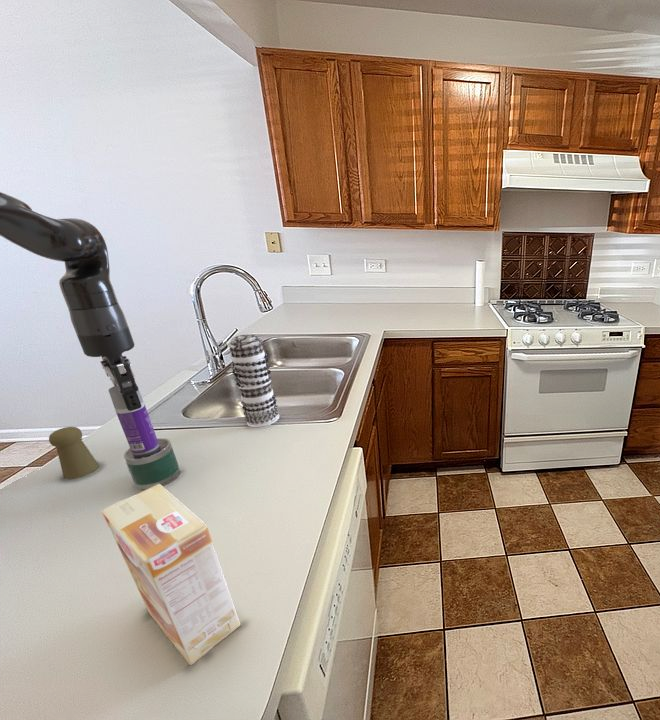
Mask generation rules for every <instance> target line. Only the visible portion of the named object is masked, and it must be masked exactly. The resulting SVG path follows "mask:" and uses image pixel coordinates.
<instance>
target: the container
mask: <svg viewBox="0 0 660 720" xmlns="http://www.w3.org/2000/svg"><path fill="white" fill-rule="evenodd" d="M136 385H137V386H138V384H137V383H136ZM122 386H123V388H125V387H129V386H131V384H130V382H128V383H124V384H122ZM136 392H137V394H138V397H139V400H140V403H141V408H139V409H136V410H132V411H129V410H128V409H127V407H126V405H125V402H124V399H123V397H122V395H121V393H119V389H118V386H114V385H113V386H111V387H110V388H108V393H109V397H110V399H111V402H112V405H113V408H114V411H115V414H116V417H117V418H118V421H119V424H120V427H121V428H122V431H123V433H124V436H125V438H126V441H127V443H128V446H129V448H130V449H131V451H132V454H134V455H143V454H147V453H150V452H152V451H154V450H156V449H157V448H158V447H159V443H158V440H157V439H158V436H157V435H156V431H155V429H154V426H153V424H152V421H151V418H150V415H149V412H148V409H147V406H146V404H145V402H144V399H143V397H142V394H141V391H140V389H138V391H136Z"/></svg>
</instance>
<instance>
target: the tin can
mask: <svg viewBox="0 0 660 720" xmlns="http://www.w3.org/2000/svg"><path fill="white" fill-rule="evenodd" d="M157 440H158V443H159V447H158V448H157V449H156V450H154V451H152V452H150V453H147V454H143V455H134V454H132V451H131V449H130V447H129V448H128V449H127V450H126V451H125V452H124V453H123V457H124V461H125V464H126V467H127V469H128V471H129V474H130V476H131V478H132V481H133V483H134V485H135V488H137V490H140V491H144V490H147V489H149V488H151V487H153V486H155V485H157V484H161V485H162V486H163V487H164V486H166V485H169V484H170V483H172V482H173V481H175V480H176V479H177V478H178V477H179V476H180V474H181V469H180V467H179V463H178V460H177V457H176V454H175V451H174V449H173V446H172V444H171V441H170V440H169V439H168V438H163V437H162V438H161V437H160V438H157Z"/></svg>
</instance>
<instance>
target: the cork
mask: <svg viewBox="0 0 660 720" xmlns="http://www.w3.org/2000/svg"><path fill="white" fill-rule="evenodd" d="M82 438H83V433H82V430H81V429H80V428H78V427H77V426H66V427H62V428H59V429H57V430H55V431H53V432H52V433H50V435H49V436H48V442H49V444H50V445H51V446H52V447H55V448H56V452H57V456H58V460H59V464H60V469H61V472H62V475H63V478H64V479H66V480H73V479H74V480H75V479H79V478H82V477H85V476H88V475H90V474H91V473H93V472H95V471H96V470H97V469H98V468H99V466H100V465H99V463H98V461H97V460H96V458H95V457H94V455H93V454H92V452H91V451H90V449H89V448H88V447H87V446H86V444H85V443H84V441H83V440H82Z"/></svg>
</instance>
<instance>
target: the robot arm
mask: <svg viewBox="0 0 660 720" xmlns="http://www.w3.org/2000/svg"><path fill="white" fill-rule="evenodd" d="M0 237H2V238H3V239H5V240H6V241H9V242H10V243H12V244H14V245H16V246H18V247H20V248H22V249H24V250H26V251H28V252H30V253H32V254H34V255H36V256H39V257H42V258H45V259H47V260H51V261H52V260H53V261H57V262H61V263H63V262H64V267H65V273H64V275H63V276H62V277H60V279H59V282H58V285H59V289H60V292H61V294H62V297H63V299H64V302H65V304H66V307H67V309H68V312H69V318H70V321H71V324H72V326H73V329H74V332H75V334H76V336H77V339H78V342H79V344H80V347H81V349H82V352H83V354H84V355H85V356H87V357H89V358H90V357H91V358H100V357H101V360H100V361H99V362H100V366H101V367H102V369H103V371H104V373H105V375H106V376H107V377H108V378H109V380H110V381H111V383H112V385H113V387H114V386H118V389H119V393H121V395H122V397H123V399H124V402H125V405H126V407H127V409H128V410H129V411H132V410H136V409H139V408H141V403H140V400H139V397H138V394H137V392H136V391H138V389H139V386H138V384H137V382H136V376H135V374H134V371H133V370H132V368H131V367H132V364H131V361H130V359H129V358H128V357H127V355H123V354H124V353H125V352H128V351H131V350H133V348H134V347H135V342H134V338H133V335H132V333H131V330H130V328H129V325H128V322H127V319H126V316H125V313H124V311H123V309H122V307H121V306H120V303H119V301H118V298H117V295H116V292H115V289H114V287H113V285H112V281H111V275H110V274H111V273H110V271H111V270H110V268H111V267H110V260H109V252H108V251H109V250H108V247H107V243H106V240H105V239H104V237H103V234H102V233H101V232H100V230H99V229H98V228H97V227H96V226H94V225H93V224H92V223H90V222H89V221H87V220H85V219H81V218H74V217H73V218H72V217H71V218H68V217H67V218H53V217H49V216H47V215H43V214H42V213H39V212H36V211H35V210H33V208H32V207H30V205H29V204H28V203H26V202H24V201H23V200H21V199H19V198H16V197H14V196H12V195H9V194H7V193H4V192H2V191H0ZM124 383H130V384H131V386H129V387H125V388H123V386H122V384H124ZM136 384H137V385H136ZM139 390H140V389H139Z"/></svg>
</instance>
